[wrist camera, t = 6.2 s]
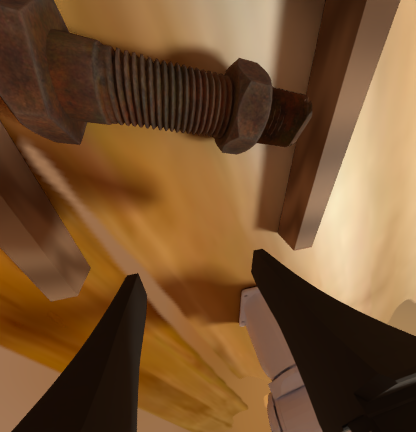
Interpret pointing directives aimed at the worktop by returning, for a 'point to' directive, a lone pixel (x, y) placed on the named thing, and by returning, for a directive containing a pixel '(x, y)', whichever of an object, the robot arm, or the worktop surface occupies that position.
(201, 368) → the worktop surface
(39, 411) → the robot arm
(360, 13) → the u-shaped bracket
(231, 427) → the worktop surface
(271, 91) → the bolt
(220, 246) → the worktop surface
